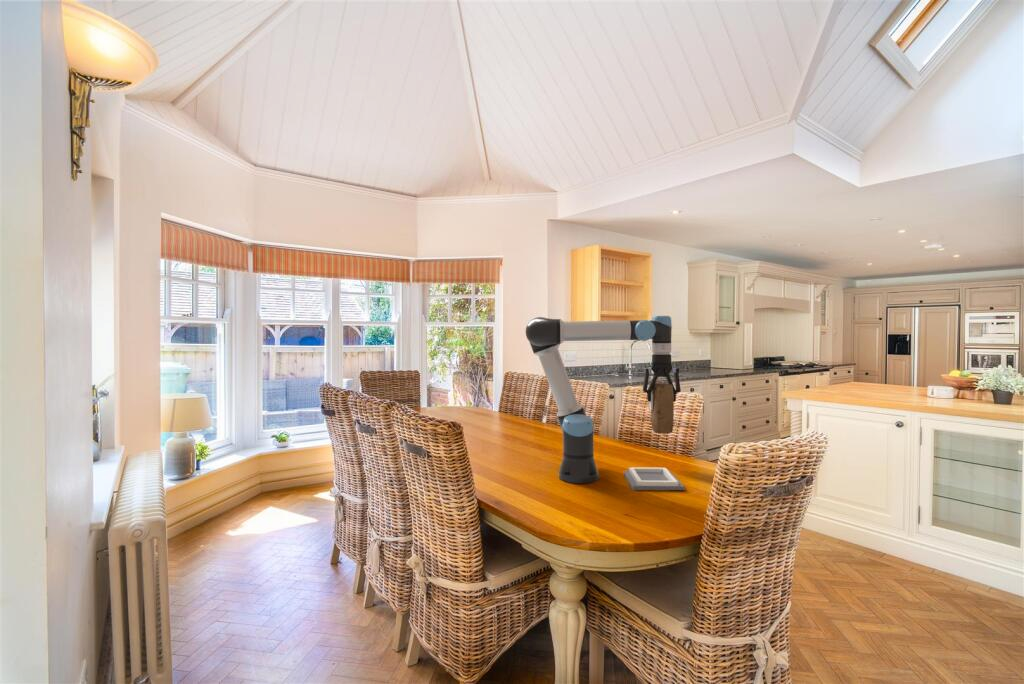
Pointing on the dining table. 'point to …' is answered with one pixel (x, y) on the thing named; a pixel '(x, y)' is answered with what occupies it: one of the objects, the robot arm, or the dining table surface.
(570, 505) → the dining table surface
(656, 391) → the block
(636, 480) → the base plate
